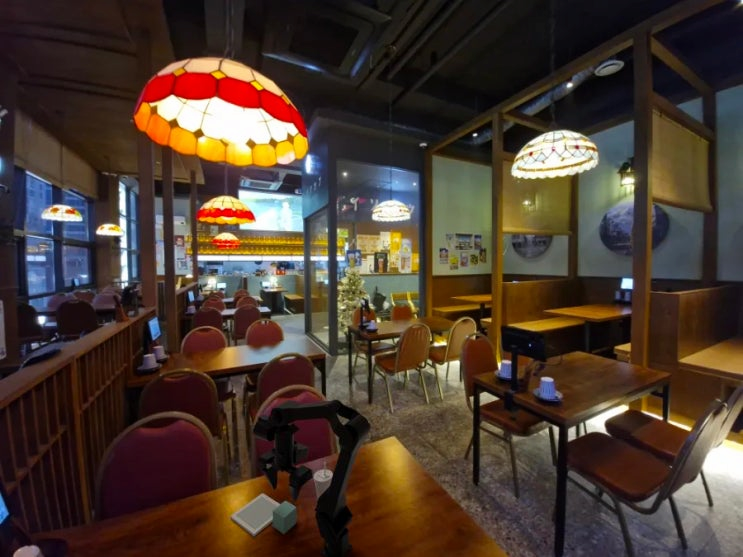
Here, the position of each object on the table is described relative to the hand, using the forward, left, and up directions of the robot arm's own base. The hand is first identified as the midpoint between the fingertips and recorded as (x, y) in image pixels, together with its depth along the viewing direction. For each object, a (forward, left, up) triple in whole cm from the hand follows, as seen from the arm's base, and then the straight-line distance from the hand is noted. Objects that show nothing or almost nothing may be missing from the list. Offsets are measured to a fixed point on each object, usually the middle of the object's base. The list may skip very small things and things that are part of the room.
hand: (284, 494), depth 96 cm
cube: (0, 0, -10) cm, 10 cm away
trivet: (+10, +2, -9) cm, 14 cm away
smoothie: (-4, -13, -10) cm, 17 cm away
